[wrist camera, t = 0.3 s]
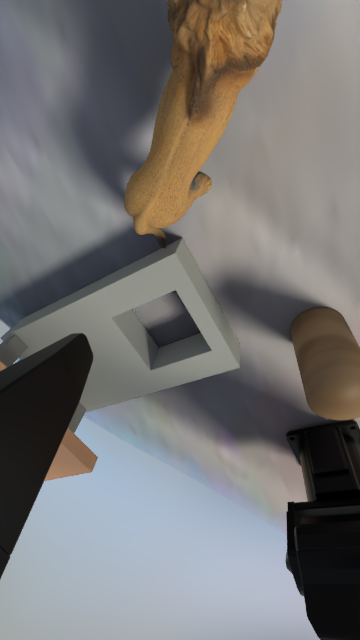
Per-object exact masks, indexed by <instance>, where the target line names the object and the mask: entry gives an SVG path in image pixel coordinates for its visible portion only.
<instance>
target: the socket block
mask: <svg viewBox="0 0 360 640" xmlns="http://www.w3.org/2000/svg"><path fill="white" fill-rule="evenodd" d="M175 290H176V291H177V293H178V295H179V297H180V298H181V300H182V302H183V303H184V305H185V307H186V308H187V310H188V312H189V313H190V315H191V317H192V318H193V320H194V322H195V323H196V325H197V327H198V328H199V330H200V332H201V333H199V334H196V335H193V336H190V337H187V338H185V339H182V340H179V341H176V342H173V343H171V344H168V345H165V346H162V347H158V346H157V345H156V343H155V342H154V340H153V339H152V337H151V336H150V335H149V333H148V332H147V330H146V329H145V327H144V326H143V324H142V323H141V322H140V320H139V319H138V317H137V316H136V314H135V313H134V312H133V310H132V309H133V308H135V307H138V306H140V305H142V304H145V303H147V302H149V301H152V300H154V299H156V298H159V297H161V296H163V295H165V294H168V293H170V292H172V291H175ZM73 333H83V334H85V335H86V337H87V339H88V342H89V344H90V347H91V349H92V352H93V363H92V366H91V369H90V372H89V375H88V378H87V381H86V384H85V387H84V390H83V393H82V396H81V399H80V401H79V402H80V403H81V404H82V405H83V406H84V407H85V408H86V409H87V410H86V412H89V411H92V410H96V409H99V408H102V407H106V406H109V405H113V404H116V403H120V402H123V401H127V400H130V399H133V398H137V397H140V396H144V395H147V394H151V393H154V392H158V391H161V390H164V389H168V388H171V387H175V386H178V385H182V384H185V383H189V382H192V381H195V380H199V379H202V378H206V377H209V376H213V375H216V374H220V373H223V372H227V371H230V370H233V369H237V368H240V343H239V341H238V339H237V337H236V335H235V334H234V332H233V330H232V328H231V326H230V324H229V322H228V321H227V319H226V317H225V315H224V313H223V311H222V310H221V308H220V306H219V304H218V302H217V300H216V298H215V297H214V295H213V293H212V291H211V289H210V287H209V285H208V284H207V282H206V280H205V278H204V276H203V274H202V273H201V271H200V269H199V267H198V265H197V263H196V261H195V260H194V258H193V256H192V254H191V252H190V250H189V248H188V247H187V245H186V243H185V241H184V239H183V238H181V239H179V240H177V241H175V242H173V243H171V244H169V245H167V246H166V248H161V249H159V250H157V251H155V252H153V253H151V254H149V255H147V256H145V257H143V258H141V259H139V260H137V261H135V262H133V263H131V264H129V265H127V266H125V267H123V268H121V269H119V270H117V271H115V272H113V273H111V274H109V275H107V276H105V277H103V278H102V279H100V280H98V281H96V282H94V283H92V284H90V285H88V286H86V287H84V288H82V289H80V290H78V291H76V292H74V293H72V294H70V295H68V296H66V297H64V298H62V299H60V300H58V301H56V302H54V303H52V304H50V305H48V306H46V307H44V308H42V309H40V310H38V311H36V312H34V313H32V314H30V315H28V316H26V317H24V318H22V319H21V320H20V321H19V322H18V323H16V324H15V325H14V326H13V327H12V328H11V329H10V330H9V331H8V332H7V333H6V334H5V335H3V336H2V337H1V339H2V340H3V341H5V340H6V339H8V338H10V337H12V336H14V335H16V334H17V336H18V337H19V338H20V339H21V340H22V341H23V342H24V343H25V344H26V345H27V346H28V348H27V349H26V350H25V351H24V352H23V353H22V354H21V355H20V356H19V358H20V359H21V360H22V359H24V358H26V357H28V356H30V355H32V354H34V353H36V352H37V351H39V350H41V349H43V348H45V347H47V346H49V345H51V344H53V343H55V342H57V341H58V340H60V339H62V338H64V337H66V336H68V335H70V334H73Z"/></svg>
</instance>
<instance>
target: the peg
mask: <svg viewBox="0 0 360 640" xmlns="http://www.w3.org/2000/svg"><path fill="white" fill-rule="evenodd" d="M290 332H291V337H292V341H293V346H294V350H295V354H296V358H297V362H298V366H299V370H300V374H301V379H302V383H303V387H304V391H305V395H306V399H307V403H308V405H309V407H310V409H311V410H312V411H313V412H314V413H316V414H317V415H319V416H321V417H324V418H327V419H332V420H350V419H355V418H358V417H360V347H359V345H358V343H357V341H356V339H355V338H354V336H353V334H352V332H351V330H350V328H349V326H348V324H347V323H346V321H345V319H344V317H343V316H342V315H341V314H340V313H339V312H338V311H336V310H334V309H331V308H327V307H316V308H312V309H309V310H306V311H304V312H302V313H301V314H300V315H298V316H297V317H296V318H295V320H294V321H293V323H292V325H291V330H290Z"/></svg>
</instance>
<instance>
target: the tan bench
mask: <svg viewBox="0 0 360 640" xmlns="http://www.w3.org/2000/svg"><path fill="white" fill-rule="evenodd" d="M27 348H28V346H27V345H26V344H25V343H24V342H23V341H22V340H21V339H20V338H19V337H18V336H17V334H16V335H14V336H12V337H10V338H8V339H6V340H5V341H3V343H2V344H0V371H1V370H3V369H5V368H7V367H9V366H11V365H12V364H13V363H14V362H15V361H16V360H17V359H18V357H19V356H20V355H21V354H22V353H23V352H24V351H25V350H26V349H27ZM86 410H87V409H86V408H85V407H84V406H83V405H82V404H81V403H80V402H79V404H78V406H77V409H76V411H75V413H74V415H73V418H72V420H71V422H70V424H69V426H68V429H67V431H66V433H65V435H64V438H63V440H62V442H61V444H60V447H59V449H58V451H57V453H56V455H55V458H54V460H53V462H52V464H51V467H50V469H49V471H48V473H47V476H46V478H45V481H47V480H52V479H57V478H63V477H68V476H73V475H79V474H84V473H90V472H92V470H93V468H94V465H95V463H96V461H97V458H98V457H97V456H96V455H95V454H94V453H93V452H92V451H91V450H90V449H89V448H88V447H87V446H86V445H85V444H84V443H83V442H82V441H81V440H80V439H79V438H78V437H77V436H76V435H75V434H74V432H75V431H76V429H77V427H78V425H79V423H80V421H81V419H82V417H83V415H84V413H85V412H86Z"/></svg>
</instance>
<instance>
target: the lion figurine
mask: <svg viewBox="0 0 360 640" xmlns="http://www.w3.org/2000/svg"><path fill="white" fill-rule="evenodd" d="M166 2H167V4H168V7H169V11H168V21H169V25H170V29H171V31H172V34H173V38H174V41H173V45H172V52H171V62H172V66H173V71H172V73H171V76H170V78H169V80H168V83H167V85H166V87H165V90H164V93H163V95H162V98H161V102H160V106H159V110H158V114H157V118H156V123H155V128H154V133H153V139H152V145H151V149H150V152H149V155H148V157H147V160H146V161H145V163H144V164H143V165H142V166H141V167H140V168H139V170H138V171H136V172H135V173H134V174H133V175H132V176H131V178H130V180H129V182H128V185H127V189H126V194H125V200H124V207H125V210H126V212H127V213H128V214H129V215H131V216H133V219H134V229H135V231H136V232H137V233H138V234H139V235H144V234H150V233H151V234H154V235H155V236H156V237H157V238H158V241H159V244H160V246H161V247H162V248H166V242H167V238H166V236H165V234H164V233H163V231H162V230H161V229H159V228H164V227H167V226H169V225H171V224H173V223H175V222H177V221H178V220H180V219H181V218H182V217H183V216H184V215H185V213H186V212H187V211H188V210H189V208H190V206H191V205H192V203H193V201H194V200H195V199H196V198H197V197H199V196H201V195H203V194H204V193H206V192H207V191H208V190H209V189H210V187H211V179H210V177H208V176H207V175H205V174H203V173H200V174H198V175H197V176H196V177H195V175H196V174H197V172H198V171H199V170H200V168H201V167H202V165H203V164H204V163H205V161H206V160H207V158H208V157H209V155H210V153H211V152H212V150H213V149H214V147H215V145H216V144H217V142H218V141H219V139H220V138H221V136H222V134H223V132H224V130H225V128H226V126H227V124H228V122H229V120H230V117H231V115H232V112H233V110H234V107H235V104H236V100H237V97H238V93H239V91H240V90H241V89H242V88H244V87H245V86H246V85H247V84H248V82H249V81H250V80H251V78H252V77H253V76H254V75H255V73H256V72H257V70H258V67H259V66H260V65H261V64H262V62H263V61H264V60H265V59H266V57H267V56H268V52H269V50H270V48H271V45H272V43H273V39H274V30H275V28H276V20H277V17H278V15H279V13H280V11H281V8H282V0H166ZM194 177H195V178H194ZM193 178H194V179H193ZM192 180H193V181H192ZM191 182H192V183H191ZM190 184H191V185H190Z"/></svg>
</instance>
